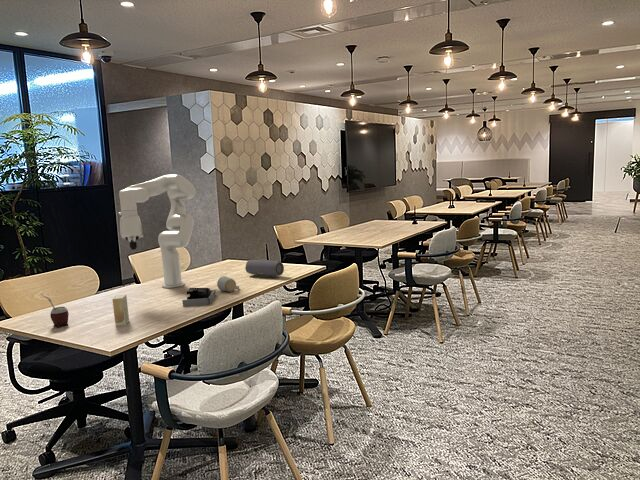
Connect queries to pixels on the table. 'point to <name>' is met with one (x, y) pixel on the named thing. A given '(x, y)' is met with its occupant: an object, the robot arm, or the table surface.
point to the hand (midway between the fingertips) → (133, 249)
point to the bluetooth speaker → (264, 268)
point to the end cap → (198, 293)
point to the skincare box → (120, 310)
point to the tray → (200, 300)
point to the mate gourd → (59, 315)
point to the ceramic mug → (226, 284)
